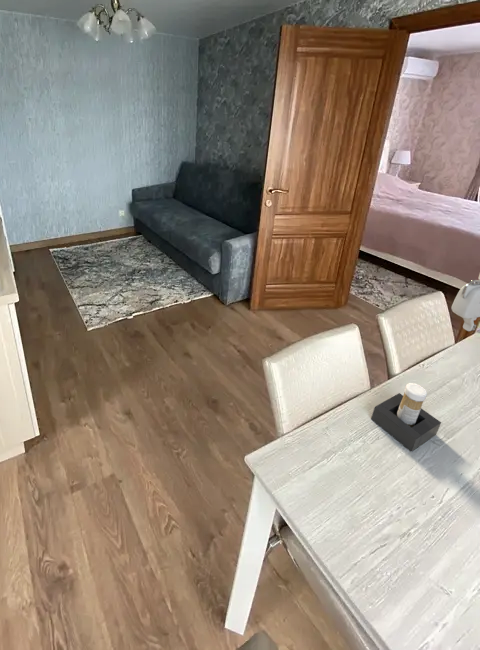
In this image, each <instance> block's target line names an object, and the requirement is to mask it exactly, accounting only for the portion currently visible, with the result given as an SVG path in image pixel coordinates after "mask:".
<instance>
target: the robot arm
mask: <svg viewBox="0 0 480 650" xmlns="http://www.w3.org/2000/svg"><path fill="white" fill-rule="evenodd" d="M451 312H453V313H454V314H456V315H457V316H458V317H460V318H462V319H463V325H462V328H463V330H465V331H467V332H473V331H475V330H476V328H477V324H476V323H475V322H474V321H476V320H477V318H480V273H479V274H478V279H472V280H471V281H470V282H469V283H467V284H464V285H463V286H462V287H461V288H460V289H459V290H458V292H457V294H456V296H455V298H454V300H453V302H452V304H451Z"/></svg>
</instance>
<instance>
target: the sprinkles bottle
mask: <svg viewBox="0 0 480 650" xmlns="http://www.w3.org/2000/svg"><path fill="white" fill-rule="evenodd" d="M403 391H404V393H403V394H402V395H403V398H402V401H401V403H400V406H399V409H398V411H397V415H396V416H397V417H398V418H400V419H401V420H402V421H404V422H405V423H406V424H407V425H409V426H410V427H411V428H412V427H414V425H415V423H416V420H417V418H418V415H419V413H420V410H421V409H422V406H423V404H424V402H425V400H426V399H427V398H426V397H427V395H428V392H427V390H426V389H425V388H424V387H423V386H421V385H420V384H418V383H415V382H409V383H406V385H405V387H404V390H403Z"/></svg>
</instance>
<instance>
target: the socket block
mask: <svg viewBox="0 0 480 650" xmlns="http://www.w3.org/2000/svg"><path fill="white" fill-rule="evenodd" d="M403 395H404V394H401V392H398V393H396V394H395V395H394V396H391V397H390V398H388V399H386V400H384V401H383V402H380V403H379V404H377V405H375V406H374V407H373V411H372V414H371V417H370V419H371V421H373V422H374V423H375V424H376V425H378V426H379V427H380V428H381V429H383V430H384V431H385V432H386V433H387V434H388V435H389V436H391V437H392V438H393V439H395V440H396V441H397V442H398V443H399V444H400V445H402V446H403V447H404V448H405V449H407V450H408V451H409V452H410V453H412V452H413V451H415V450H417V449H418V448H420V446H422V445H424V444H425V443H426V442H428V441H430V440H431V439H432V438H434V437H435V436H437V434H438V431H439V429H440V426H441V424H442V422H441V421H440V420H439V419H437V418H436V417H434V416H433V415H432V414H430V413H429V412H427V411H426V410H425V409H423V408H421V410H420V413H419V415H418V418H417V420H416V423H415V425H414V427H412V428H411V427H410V426H409V425H407V424H406V423H405V422H404V421H402V420H401V419H400V418H398V417H397V416H396V415H397V411H398V409H399V406H400V403H401V401H402V398H403Z"/></svg>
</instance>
